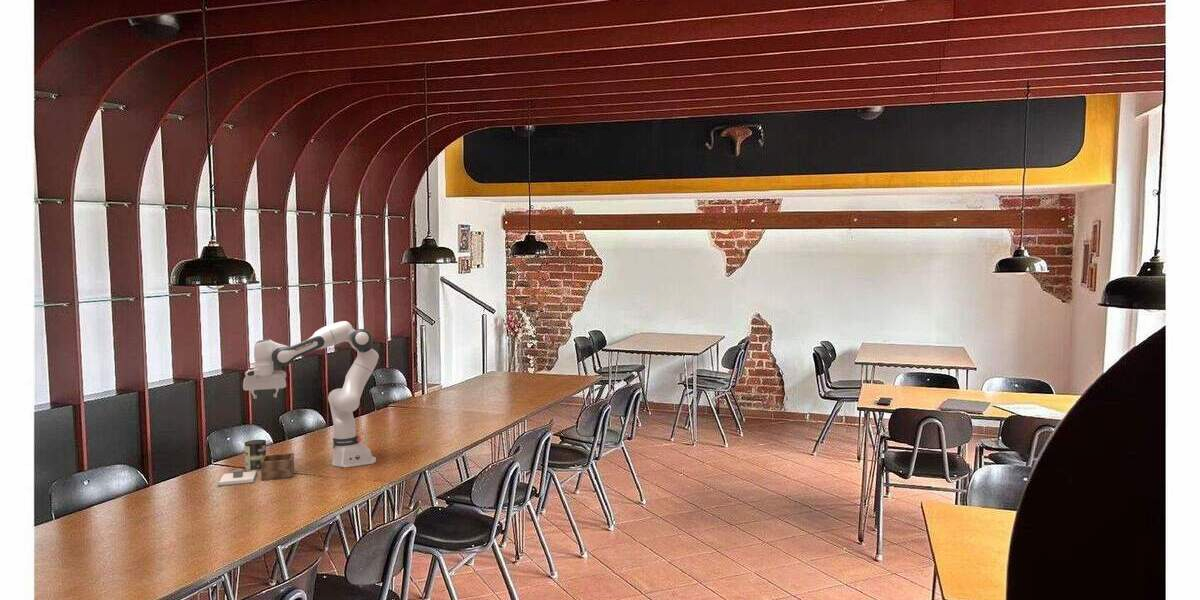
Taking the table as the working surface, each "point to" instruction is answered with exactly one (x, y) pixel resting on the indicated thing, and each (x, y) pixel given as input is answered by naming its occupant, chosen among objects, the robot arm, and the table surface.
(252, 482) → the mat
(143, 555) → the table surface
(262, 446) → the coffee can
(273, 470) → the storage box
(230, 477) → the lid
